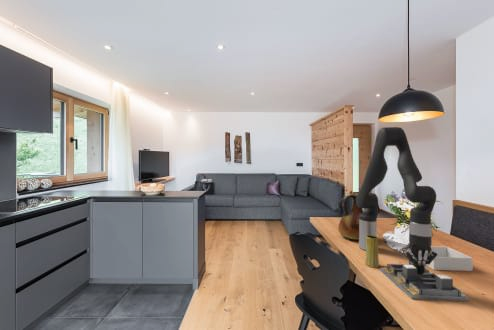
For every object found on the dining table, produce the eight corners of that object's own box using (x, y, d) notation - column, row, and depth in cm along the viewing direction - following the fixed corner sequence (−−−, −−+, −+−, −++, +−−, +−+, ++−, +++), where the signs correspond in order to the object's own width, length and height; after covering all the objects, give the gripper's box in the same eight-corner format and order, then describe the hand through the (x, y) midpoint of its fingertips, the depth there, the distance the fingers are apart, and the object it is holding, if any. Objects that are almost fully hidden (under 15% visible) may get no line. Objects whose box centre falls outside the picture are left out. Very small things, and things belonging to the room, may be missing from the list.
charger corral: (412, 256, 122) (412, 245, 122) (446, 257, 121) (447, 246, 121) (433, 269, 108) (433, 257, 108) (472, 270, 107) (472, 258, 106)
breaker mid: (402, 278, 97) (402, 264, 97) (412, 278, 97) (412, 264, 96) (407, 281, 94) (407, 267, 94) (417, 282, 94) (417, 268, 94)
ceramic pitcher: (377, 243, 143) (377, 196, 143) (345, 242, 143) (345, 196, 143) (362, 233, 163) (362, 192, 162) (334, 233, 163) (334, 192, 163)
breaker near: (435, 289, 88) (435, 274, 88) (446, 289, 88) (446, 274, 88) (441, 293, 85) (441, 278, 85) (452, 293, 85) (452, 278, 85)
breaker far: (408, 269, 104) (408, 257, 104) (417, 269, 104) (417, 257, 104) (413, 272, 101) (413, 259, 101) (422, 273, 101) (422, 260, 101)
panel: (380, 270, 107) (380, 263, 107) (424, 272, 105) (424, 264, 105) (411, 298, 85) (411, 289, 85) (467, 300, 83) (467, 291, 83)
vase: (366, 261, 117) (366, 234, 117) (380, 264, 113) (380, 236, 113) (363, 265, 112) (364, 237, 112) (377, 269, 108) (378, 239, 108)
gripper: (429, 230, 98) (429, 269, 98) (398, 230, 99) (398, 268, 99) (443, 236, 91) (443, 278, 91) (409, 235, 91) (409, 277, 92)
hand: (419, 273), depth 95 cm, fingers closed
